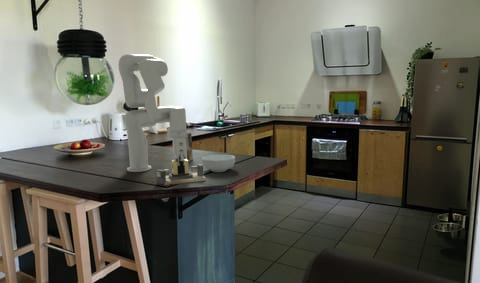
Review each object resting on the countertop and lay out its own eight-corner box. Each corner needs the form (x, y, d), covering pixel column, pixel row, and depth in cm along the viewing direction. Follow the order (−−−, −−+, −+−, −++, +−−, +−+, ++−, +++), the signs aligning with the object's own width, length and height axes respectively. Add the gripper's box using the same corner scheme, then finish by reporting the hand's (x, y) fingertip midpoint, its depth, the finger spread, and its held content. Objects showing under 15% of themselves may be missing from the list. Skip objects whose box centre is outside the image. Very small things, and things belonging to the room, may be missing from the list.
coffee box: (182, 159, 217) (181, 132, 215) (193, 159, 216) (191, 132, 213) (177, 162, 208) (175, 134, 206) (187, 162, 207) (186, 134, 205)
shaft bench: (154, 179, 172) (153, 166, 171) (199, 174, 180) (198, 162, 179) (158, 186, 161) (157, 172, 160) (205, 180, 169) (205, 167, 168)
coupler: (171, 172, 171) (170, 160, 170) (187, 171, 173) (187, 158, 172) (172, 174, 167) (172, 162, 166) (189, 173, 169) (189, 160, 168)
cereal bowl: (238, 167, 193) (238, 154, 192) (231, 175, 177) (230, 160, 176) (208, 166, 197) (207, 153, 196) (198, 173, 181) (197, 160, 180)
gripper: (190, 135, 161) (192, 175, 163) (182, 131, 176) (184, 167, 179) (173, 137, 158) (175, 177, 161) (167, 132, 173) (169, 169, 176)
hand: (180, 172), depth 170 cm, fingers closed on coupler, 4 cm apart
